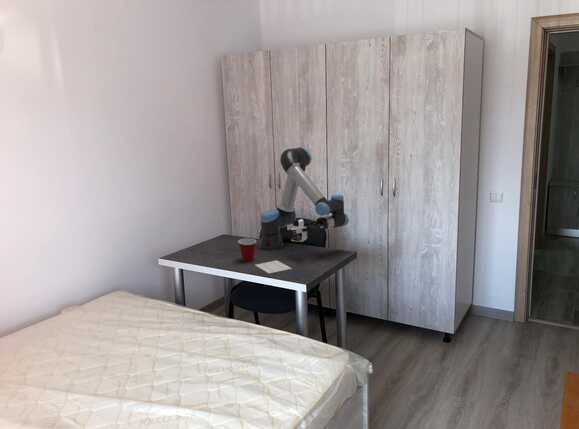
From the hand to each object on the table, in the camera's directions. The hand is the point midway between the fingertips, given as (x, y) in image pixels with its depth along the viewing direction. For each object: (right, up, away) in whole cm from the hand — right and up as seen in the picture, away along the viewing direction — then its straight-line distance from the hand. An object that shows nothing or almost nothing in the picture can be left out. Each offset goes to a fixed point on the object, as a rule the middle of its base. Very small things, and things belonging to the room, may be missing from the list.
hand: (291, 229), depth 269 cm
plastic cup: (-25, -19, +9) cm, 33 cm away
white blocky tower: (+4, -6, +4) cm, 8 cm away
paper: (-11, -21, -6) cm, 24 cm away
